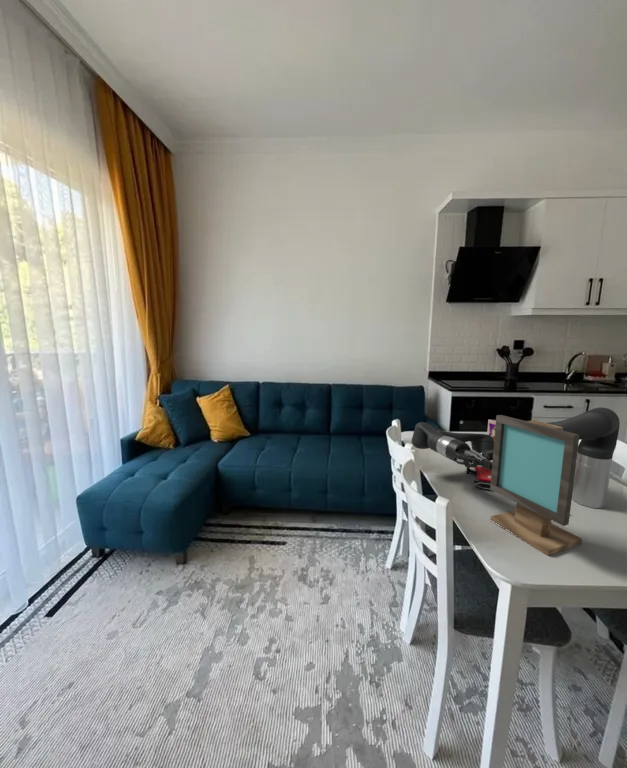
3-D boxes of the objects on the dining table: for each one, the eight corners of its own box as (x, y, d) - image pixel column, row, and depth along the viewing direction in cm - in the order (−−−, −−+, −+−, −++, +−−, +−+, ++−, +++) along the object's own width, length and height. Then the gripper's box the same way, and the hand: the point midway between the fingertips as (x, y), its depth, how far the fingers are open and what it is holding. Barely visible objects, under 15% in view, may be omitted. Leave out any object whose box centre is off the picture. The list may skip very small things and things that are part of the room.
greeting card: (484, 448, 172) (487, 419, 170) (494, 446, 175) (497, 417, 173) (505, 455, 162) (508, 425, 160) (515, 453, 165) (519, 423, 163)
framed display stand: (521, 512, 112) (531, 414, 107) (581, 543, 96) (597, 430, 90) (490, 520, 107) (499, 418, 101) (548, 555, 90) (563, 436, 85)
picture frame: (494, 488, 108) (501, 414, 104) (568, 524, 88) (579, 434, 84) (490, 489, 107) (496, 415, 104) (563, 526, 87) (574, 435, 83)
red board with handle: (469, 488, 129) (514, 496, 124) (470, 481, 128) (515, 488, 123) (463, 461, 157) (499, 466, 152) (464, 455, 156) (500, 460, 151)
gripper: (465, 456, 125) (508, 475, 110) (437, 461, 121) (477, 482, 105) (467, 436, 124) (510, 453, 108) (438, 441, 119) (479, 458, 103)
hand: (494, 467), depth 107 cm, fingers closed
